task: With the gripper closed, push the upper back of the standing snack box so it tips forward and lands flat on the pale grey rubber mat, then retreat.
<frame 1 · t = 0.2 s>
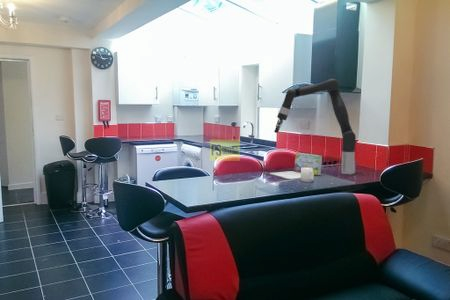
hand: (276, 132, 297), 31 cm above the breakfast bar, tool tilted 20°, fingers open, 8 cm apart
mat: (291, 175, 279), on the breakfast bar
snack box: (306, 173, 285), on the breakfast bar, touching mat
mug: (306, 180, 258), on the breakfast bar
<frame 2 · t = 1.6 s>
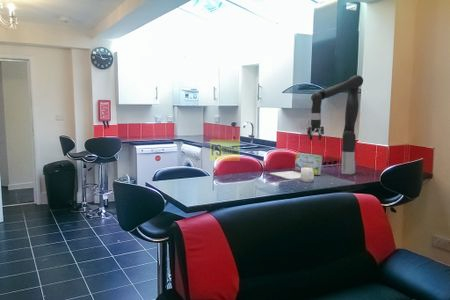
hand: (315, 140, 286), 26 cm above the breakfast bar, tool pointing down, fingers open, 8 cm apart
nothing on the breakfast bar moved.
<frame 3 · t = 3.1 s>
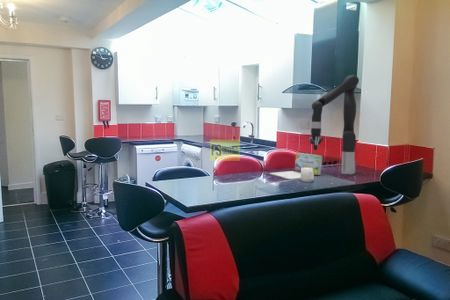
hand: (315, 149, 287), 18 cm above the breakfast bar, tool pointing down, fingers closed
nothing on the breakfast bar moved.
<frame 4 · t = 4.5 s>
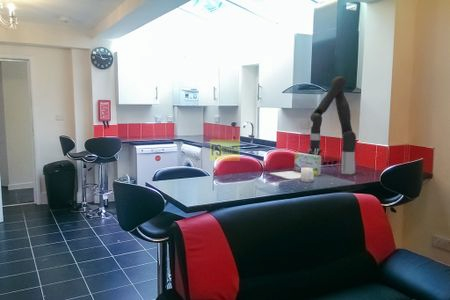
hand: (314, 161, 287), 9 cm above the breakfast bar, tool pointing down, fingers closed
snack box: (306, 173, 285), on the breakfast bar, touching hand, mat
everything else where it was.
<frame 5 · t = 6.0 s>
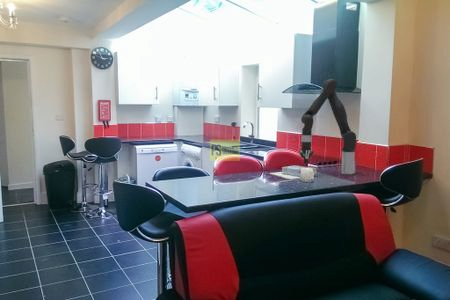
hand: (305, 163, 284), 8 cm above the breakfast bar, tool pointing down, fingers closed
snack box: (305, 170, 283), point 3 cm above the breakfast bar, touching mat
everything else where it was.
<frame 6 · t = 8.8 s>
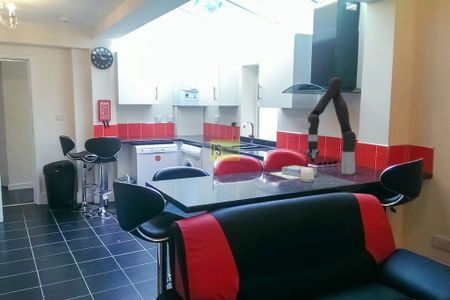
hand: (312, 162, 286), 8 cm above the breakfast bar, tool pointing down, fingers closed
nothing on the breakfast bar moved.
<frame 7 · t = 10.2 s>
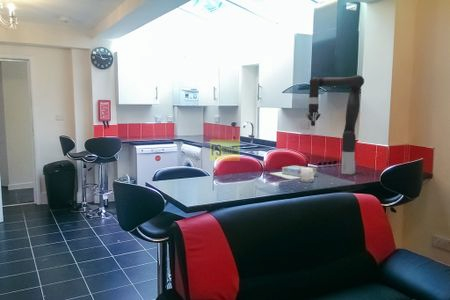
hand: (313, 125, 288), 37 cm above the breakfast bar, tool pointing down, fingers closed
nothing on the breakfast bar moved.
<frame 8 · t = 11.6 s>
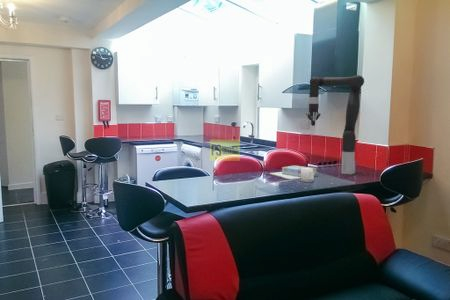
hand: (313, 125, 288), 37 cm above the breakfast bar, tool pointing down, fingers closed
nothing on the breakfast bar moved.
at the end: snack box tilted 89°; snack box inside the target area (8.9 cm from its centre), point 3.3 cm above the breakfast bar; the gripper is holding nothing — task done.
